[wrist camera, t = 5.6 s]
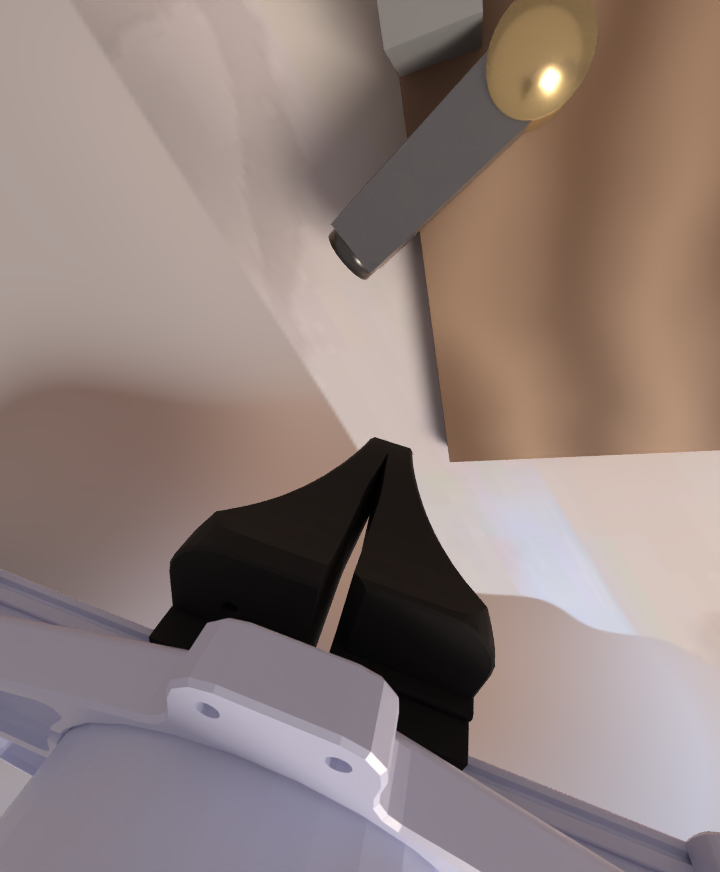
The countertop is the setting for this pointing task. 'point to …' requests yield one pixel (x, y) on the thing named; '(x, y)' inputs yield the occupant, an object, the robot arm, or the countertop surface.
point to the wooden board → (587, 252)
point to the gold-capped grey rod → (471, 127)
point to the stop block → (428, 31)
